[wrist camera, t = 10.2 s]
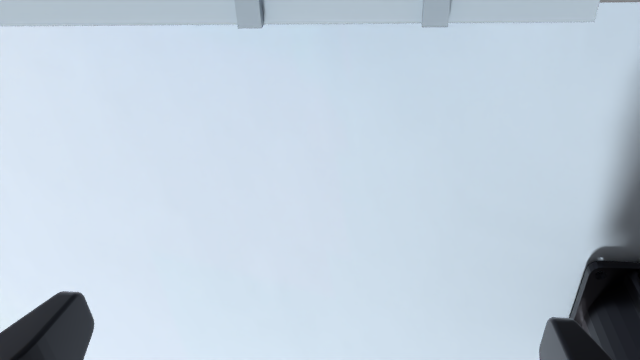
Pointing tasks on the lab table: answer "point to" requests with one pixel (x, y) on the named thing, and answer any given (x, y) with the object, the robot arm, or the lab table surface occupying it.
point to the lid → (290, 12)
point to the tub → (619, 0)
